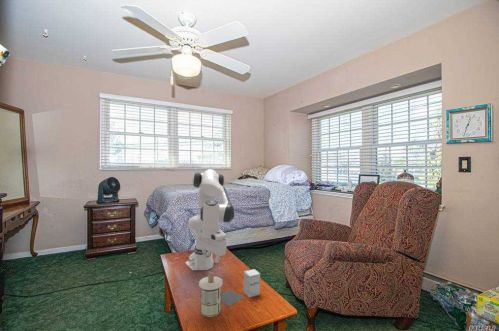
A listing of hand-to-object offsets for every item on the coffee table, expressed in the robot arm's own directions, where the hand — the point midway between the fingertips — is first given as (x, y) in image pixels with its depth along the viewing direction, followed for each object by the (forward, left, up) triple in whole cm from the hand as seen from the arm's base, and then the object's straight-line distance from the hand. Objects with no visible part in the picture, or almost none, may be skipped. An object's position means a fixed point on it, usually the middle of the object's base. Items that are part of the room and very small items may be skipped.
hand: (210, 259), depth 123 cm
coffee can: (0, 0, -27) cm, 27 cm away
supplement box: (+4, +27, -27) cm, 39 cm away
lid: (0, 0, -13) cm, 13 cm away
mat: (-2, +15, -27) cm, 31 cm away
